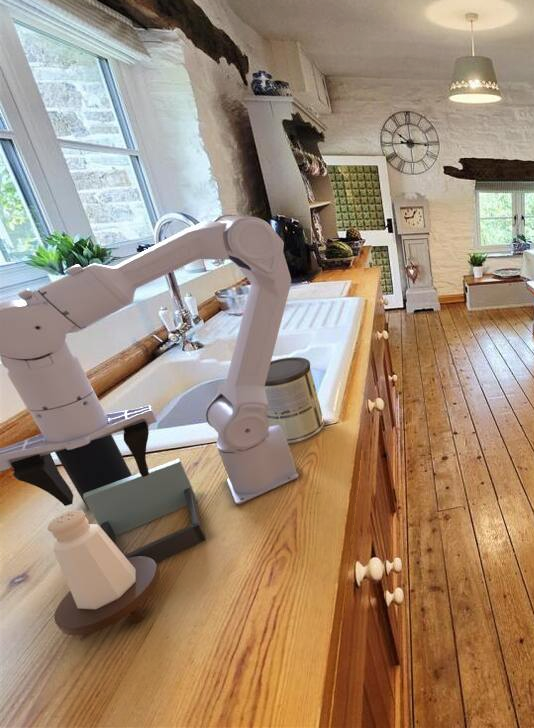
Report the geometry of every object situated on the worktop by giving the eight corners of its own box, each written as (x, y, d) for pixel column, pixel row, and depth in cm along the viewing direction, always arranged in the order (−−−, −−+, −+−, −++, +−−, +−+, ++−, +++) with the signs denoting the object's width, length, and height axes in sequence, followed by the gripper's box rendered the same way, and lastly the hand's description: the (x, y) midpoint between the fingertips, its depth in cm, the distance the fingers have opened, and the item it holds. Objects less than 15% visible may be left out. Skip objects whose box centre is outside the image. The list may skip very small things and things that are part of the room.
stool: (165, 565, 55) (154, 543, 54) (171, 613, 49) (159, 590, 48) (73, 610, 50) (58, 587, 48) (67, 670, 44) (49, 647, 42)
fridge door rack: (196, 497, 67) (179, 458, 64) (207, 539, 59) (188, 496, 56) (107, 535, 61) (83, 493, 57) (106, 587, 53) (78, 542, 49)
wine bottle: (146, 482, 71) (67, 319, 59) (110, 510, 65) (14, 335, 53) (113, 480, 72) (28, 319, 60) (74, 508, 66) (-29, 335, 54)
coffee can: (261, 432, 84) (241, 370, 78) (310, 410, 91) (294, 352, 86) (283, 451, 78) (263, 385, 72) (334, 426, 85) (319, 365, 79)
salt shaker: (124, 602, 46) (80, 530, 42) (65, 618, 45) (13, 545, 41) (146, 562, 51) (109, 494, 47) (93, 575, 50) (50, 506, 45)
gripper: (-40, 437, 42) (26, 534, 48) (139, 389, 51) (178, 475, 57) (-24, 411, 47) (34, 501, 53) (137, 371, 56) (173, 452, 61)
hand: (108, 486), depth 55 cm, fingers open, 7 cm apart
